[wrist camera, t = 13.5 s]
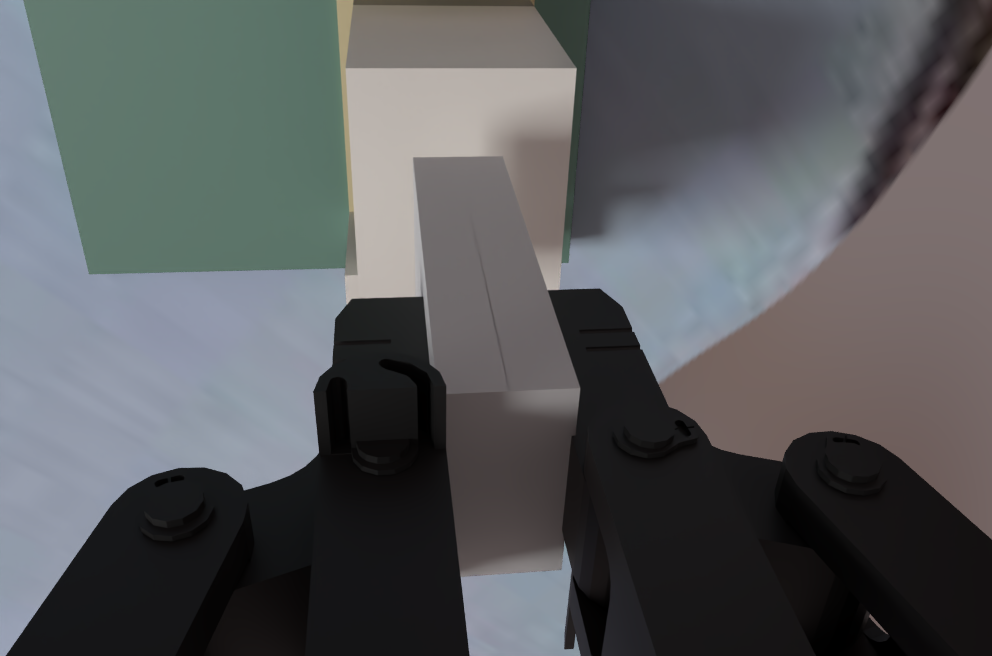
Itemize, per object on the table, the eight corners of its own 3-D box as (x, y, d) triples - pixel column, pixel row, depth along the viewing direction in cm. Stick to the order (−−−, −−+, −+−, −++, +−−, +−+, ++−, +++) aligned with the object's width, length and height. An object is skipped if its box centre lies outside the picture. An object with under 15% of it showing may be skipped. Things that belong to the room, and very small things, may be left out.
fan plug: (355, -22, 22) (345, 68, 15) (516, -20, 22) (576, 68, 15) (367, 203, 25) (362, 361, 18) (507, 200, 25) (554, 354, 19)
